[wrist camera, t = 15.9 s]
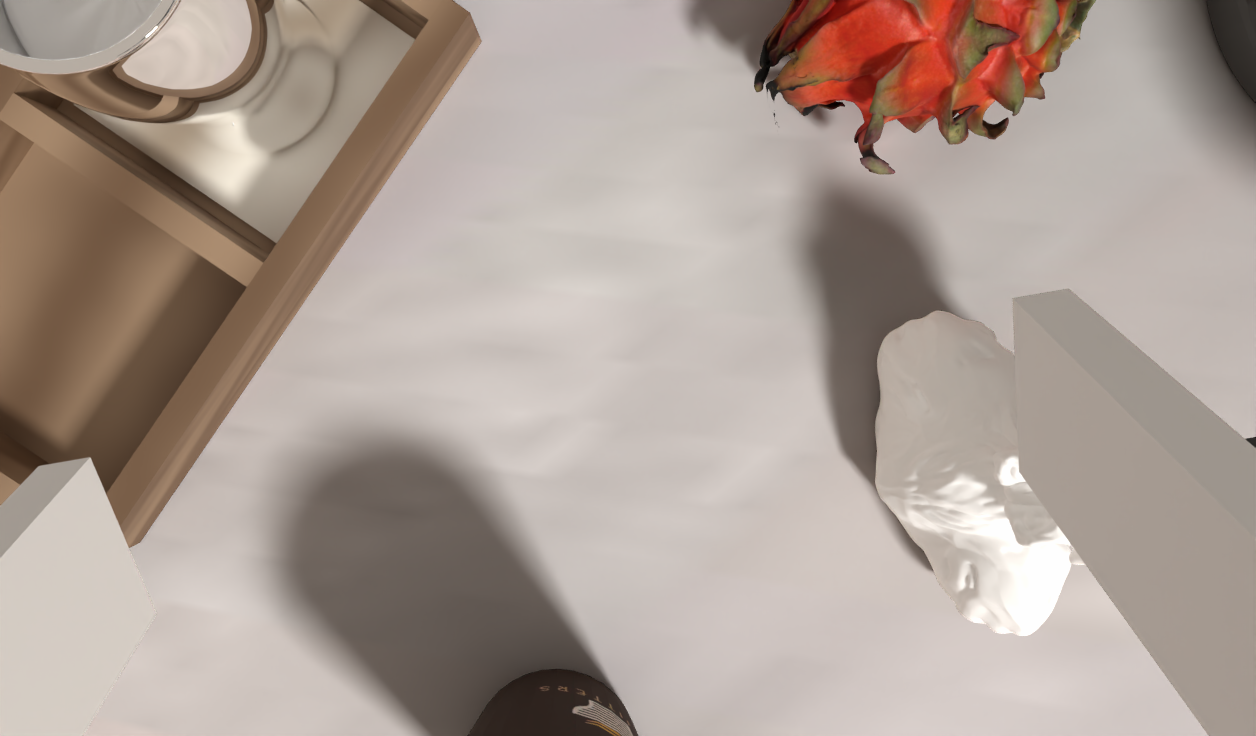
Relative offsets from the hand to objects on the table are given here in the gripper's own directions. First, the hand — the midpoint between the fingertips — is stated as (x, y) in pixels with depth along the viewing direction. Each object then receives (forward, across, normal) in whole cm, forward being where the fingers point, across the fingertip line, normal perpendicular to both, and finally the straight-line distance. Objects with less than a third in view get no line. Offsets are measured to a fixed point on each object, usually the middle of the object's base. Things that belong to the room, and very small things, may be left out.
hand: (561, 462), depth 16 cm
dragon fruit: (+29, +12, 0) cm, 32 cm away
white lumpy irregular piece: (+24, +12, -15) cm, 31 cm away
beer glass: (+28, -12, +3) cm, 30 cm away
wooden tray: (+27, -16, -1) cm, 31 cm away
